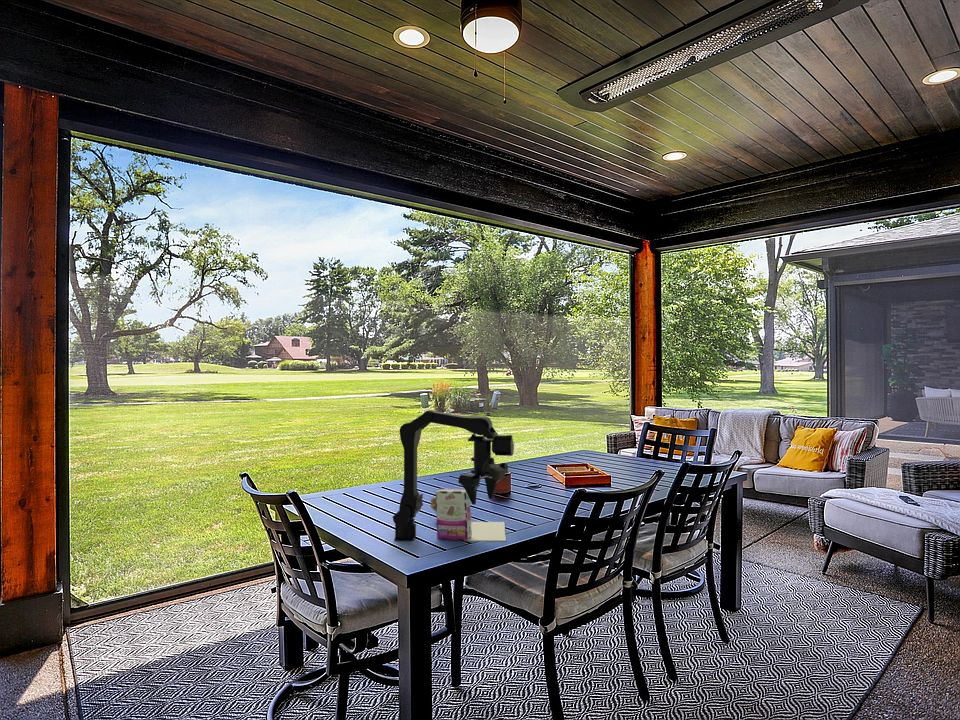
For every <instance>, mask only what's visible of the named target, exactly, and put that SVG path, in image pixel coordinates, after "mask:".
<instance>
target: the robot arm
mask: <svg viewBox="0 0 960 720" xmlns="http://www.w3.org/2000/svg"><path fill="white" fill-rule="evenodd" d="M431 423H432V424H438V425H443V426H447V427H448V426H449V427H454V428H460V429H463V430H465V431H467V432H470V433H472V434H471V435H470V437H468V439H467V441H468V442H473V457H470V461H471V462H473V469H472V470H470V473H469V472H467V473H462V474H460V475H459V476H458V481H457V482H458V484H460V486H461V487H463V489H465V490H466V492H467V494H468V496H469V498H470V504H471V505H474V506H475V505H476V503H477V492H478V488H479V487H480V486H481V484H480V482H481V480H482V479H484V482H485V487H486V493H487V497H488V499H489V500H492V499H493V496H494V493H495V491H496V489H497V485H498V483H499V482H500V481H502V480H504V479H505V477H506V474H509V468H508V467H509V466H508V463H506V462H501V463H495V458H494V457H492V453H493V454H494V455H495V456H503V457H504V456H505V457H509V456H510V457H513V456H514V451H515V444H514V439H513V435H512V434H506V435H505V434H499V433H498V432H497V430H495V428H494V427H493V422H492V419H490V417H487V416H485V415H482V416H481V415H480V416H479V415H478V416H464V415H458V414H453V413H447V412H441V411H436V410H434V409H429V410H425V411H424V412H423V413H422V414H420V416H417V417H416V418H415V419H413V420H411V421H409V422H406V423H403V424H402V425H401V426H400V427H399V430H398V431H399V437H400V438H399V439H400V442H401V445H402V447H403V492H402V495H401V498H400V503H399V506H398V508H399V509H398V511H397V512H396V513H395V514H394V515H392V520H393V523H394V532H395V533H394V539H393V540H394V541H395V542H396V541H401V542H403V541H405V542H407V541H408V542H409V541H414V540H415V538H416V536H417V523H415V517H416V516H417V514H418V513H419V512H420V511H421V509H422V507H423V506H424V503H423V497H424V495H423V494H424V493H419V489H418V446H419V443H420V441H421V437H422V431H423V430H424V429H426V428H427V427H428V426H429V425H430V424H431Z"/></svg>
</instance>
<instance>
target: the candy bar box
mask: <svg viewBox="0 0 960 720" xmlns="http://www.w3.org/2000/svg"><path fill="white" fill-rule="evenodd" d="M435 497H436V511H435V513H436V516H435V517H436V532H437V533H436V536H437V537H436V538H437V539H438V540H452V541H453V540H455V541H464V540H468V539H469V538H471V537H472V530H471V522H472V513H471V511H472V510H471V501H470V498H469V496H468V494H467V492H466V490H465V489H464V488H439V489H437V490H436V491H435Z"/></svg>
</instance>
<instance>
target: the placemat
mask: <svg viewBox="0 0 960 720" xmlns="http://www.w3.org/2000/svg"><path fill="white" fill-rule="evenodd" d="M505 525H506V524H505V521H471V530H472V537H471V538H469V539H468V540H463V541H464V542H506V541H507V538H506V526H505Z"/></svg>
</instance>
